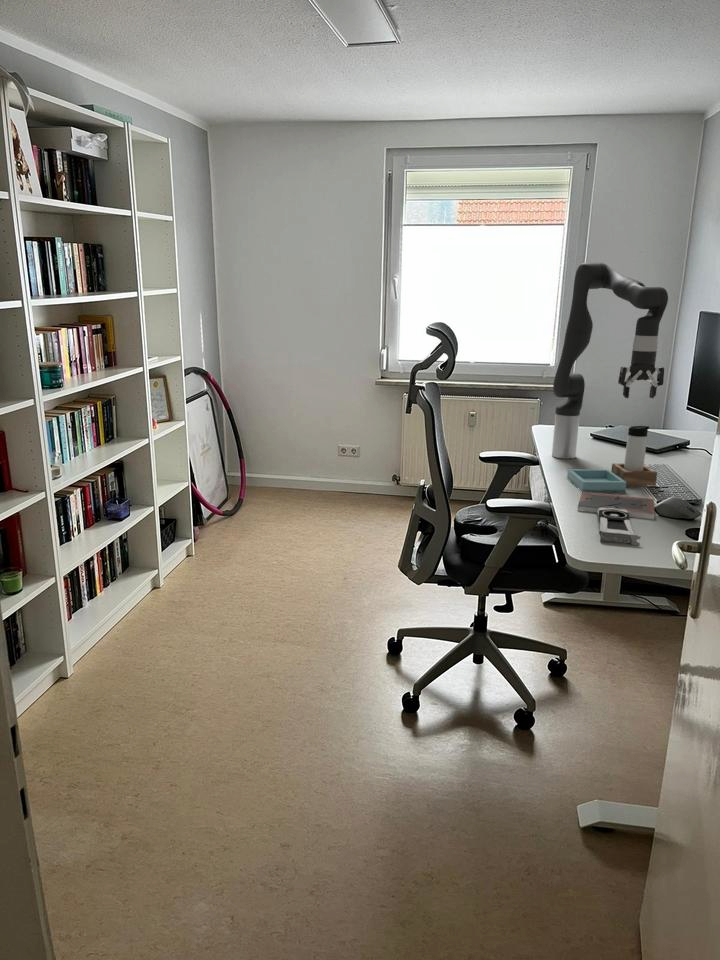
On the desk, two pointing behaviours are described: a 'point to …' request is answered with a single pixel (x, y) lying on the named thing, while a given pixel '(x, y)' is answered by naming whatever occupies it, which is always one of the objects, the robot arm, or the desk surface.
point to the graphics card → (616, 526)
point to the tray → (596, 481)
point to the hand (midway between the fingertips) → (638, 397)
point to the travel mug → (636, 448)
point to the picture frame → (617, 504)
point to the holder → (635, 475)
